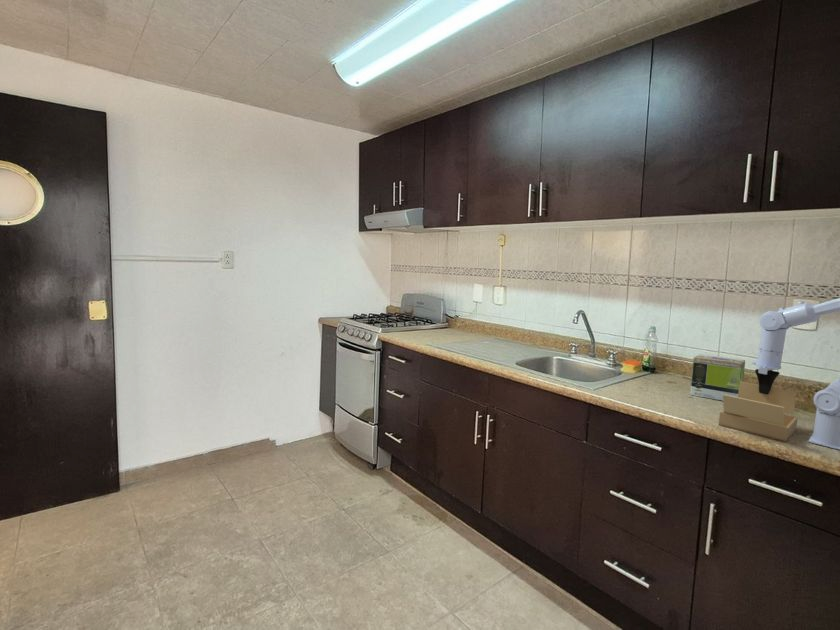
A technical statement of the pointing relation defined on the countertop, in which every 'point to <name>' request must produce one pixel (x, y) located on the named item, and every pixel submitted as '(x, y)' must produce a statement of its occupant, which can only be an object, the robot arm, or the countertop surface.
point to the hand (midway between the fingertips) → (763, 393)
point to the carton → (760, 426)
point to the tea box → (716, 376)
